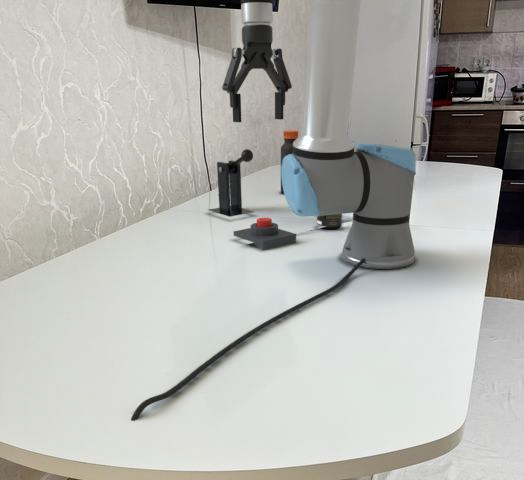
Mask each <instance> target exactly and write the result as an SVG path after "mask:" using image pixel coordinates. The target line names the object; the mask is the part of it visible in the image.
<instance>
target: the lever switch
mask: <svg viewBox="0 0 524 480" xmlns="http://www.w3.org/2000/svg"><path fill="white" fill-rule="evenodd" d="M235 161H236V160H232V159H231V160H228V162H222V161H217V162H216V167H217V168H216V171H217V190H218V207H214V208H208V211H210V212H213V213H215V214H220V215H223V216H226V217H228V218H229V217H235V216H241V215H245V214H251V213H255V210H249V209H247V208H243V205H242V204H243V201H242V199H243V198H242V173H241V163H240V164H239V165H238V166H236V167H235V170H236V171H235V172H233V173H232V174H229V164H228V163H232V162H235Z"/></svg>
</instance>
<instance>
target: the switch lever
mask: <svg viewBox="0 0 524 480" xmlns="http://www.w3.org/2000/svg"><path fill="white" fill-rule="evenodd" d="M253 159H254V152H253V151H252V150H251V149H248V148H246V149H244V150H242V151H241V153H240V157H239V158H237V159H236V160H234V161H235V162H232V163H229V162H227V163H228V164H229V174H232V173H233V172H235V171H236V170H235V167H236V166H238V165H239V164H240V165H241V164H242V163H244V162H245V163H250V162H251V161H252V160H253Z"/></svg>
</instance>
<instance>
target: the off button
mask: <svg viewBox="0 0 524 480" xmlns="http://www.w3.org/2000/svg"><path fill="white" fill-rule="evenodd" d="M256 223H257V227H271V226H272V223H273V219H272V218H270V217H258V218H257V219H256Z"/></svg>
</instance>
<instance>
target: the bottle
mask: <svg viewBox="0 0 524 480" xmlns="http://www.w3.org/2000/svg"><path fill="white" fill-rule="evenodd" d="M298 137H299V131H298V130H284V131H283V141H284V143H283V144H282V145H281V146H280V167H281V166H282V163H283V162H282V161H283V158H284V157H285V156H287V155H288V154H293V142H294V141H295V140H296V139H297V138H298ZM280 193H281V194H283V195H285V194H284V190H283V185H282V177H281V176H280Z"/></svg>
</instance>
